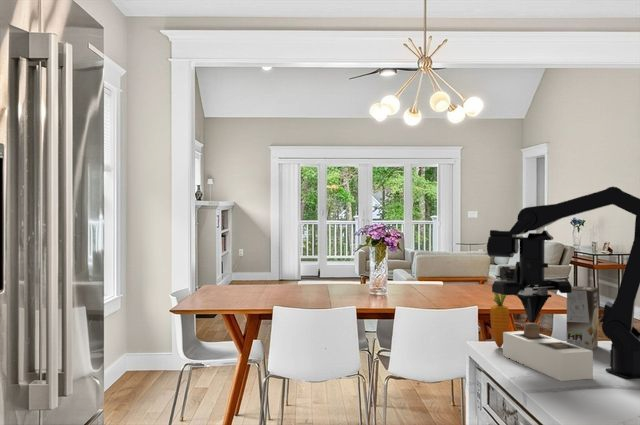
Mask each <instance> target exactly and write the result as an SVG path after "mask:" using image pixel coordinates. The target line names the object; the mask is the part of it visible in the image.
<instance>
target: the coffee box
mask: <svg viewBox="0 0 640 425" xmlns="http://www.w3.org/2000/svg"><path fill="white" fill-rule="evenodd" d="M566 342H567V343H570V344H573V345H576V346H579V347H582V348H585V349H588V350H591V351H593V352H594V350H595V349H596V348H598V346H599V287H595V286H594V287H593V286H577V285H574V286H572V293H566Z"/></svg>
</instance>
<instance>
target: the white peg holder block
mask: <svg viewBox="0 0 640 425" xmlns="http://www.w3.org/2000/svg"><path fill="white" fill-rule="evenodd" d="M550 344H563V345H567V346H568V348H558V349H557V348H554V347H551V346H550ZM502 349H503V350H502V356H503V357H505V358H507V359H509V358H510V360H512V361H514V362H516V361H517V363H518V362H519V364H521V365H523V364H524V365H523V366H525V367H528V368H531V369H533V370H534V371H537V372H539V373H542V374H543V375H546V376H549V377H550V378H552V379H555V380H558V381H560V382H568V381H569V382H570V381H577V380H578V381H579V380H581V381H582V380H592V379H594V350H593V351H591V350H588V349H585V348H582V347H579V346H576V345H573V344H570V343H567V341H563V340H560V339H559V338H555V337H552V336H548V335H545V334H542V333H540V338H534V339H528V338H526V337H524V330H518V331H517V330H516V331H507V332H503V345H502Z"/></svg>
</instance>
